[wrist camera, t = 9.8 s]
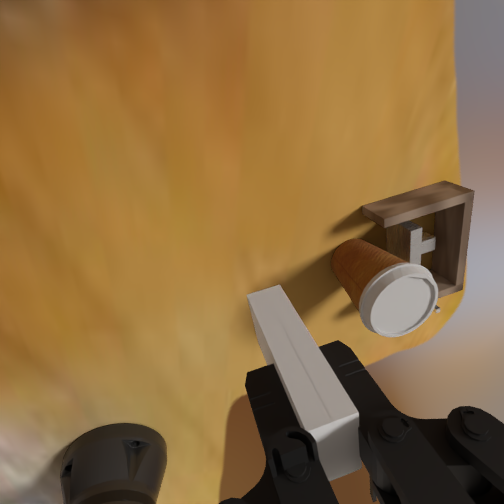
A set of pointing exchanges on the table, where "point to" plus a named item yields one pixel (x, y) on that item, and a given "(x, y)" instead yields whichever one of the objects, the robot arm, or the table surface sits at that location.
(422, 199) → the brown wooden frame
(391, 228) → the gauge plunger
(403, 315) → the disposable coffee cup
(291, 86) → the table surface
